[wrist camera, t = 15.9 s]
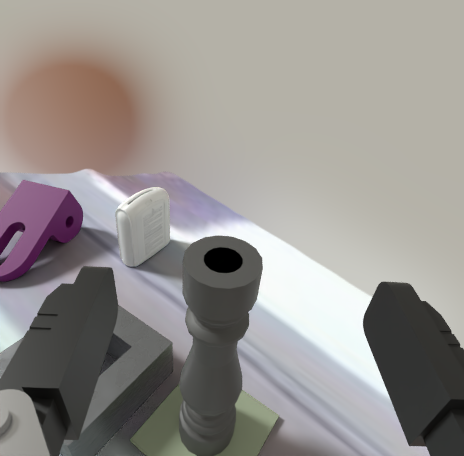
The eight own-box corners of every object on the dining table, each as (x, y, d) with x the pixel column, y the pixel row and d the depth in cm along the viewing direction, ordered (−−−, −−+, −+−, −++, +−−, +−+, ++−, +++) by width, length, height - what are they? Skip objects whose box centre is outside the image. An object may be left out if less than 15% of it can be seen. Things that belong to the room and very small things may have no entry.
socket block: (78, 472, 35) (67, 446, 31) (3, 391, 40) (-14, 362, 37) (172, 370, 44) (172, 342, 41) (101, 317, 50) (95, 288, 47)
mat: (219, 523, 32) (220, 521, 32) (130, 441, 37) (130, 439, 37) (278, 417, 41) (279, 415, 40) (199, 362, 46) (199, 360, 45)
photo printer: (156, 233, 68) (153, 178, 61) (173, 242, 66) (172, 186, 59) (116, 261, 60) (108, 201, 53) (134, 271, 59) (128, 210, 52)
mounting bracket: (39, 301, 59) (88, 215, 68) (10, 284, 52) (69, 190, 60) (-7, 287, 61) (46, 205, 69) (-42, 268, 53) (23, 179, 62)
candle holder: (170, 448, 37) (165, 279, 22) (189, 393, 42) (195, 226, 27) (226, 465, 36) (259, 301, 21) (238, 407, 41) (272, 243, 26)
